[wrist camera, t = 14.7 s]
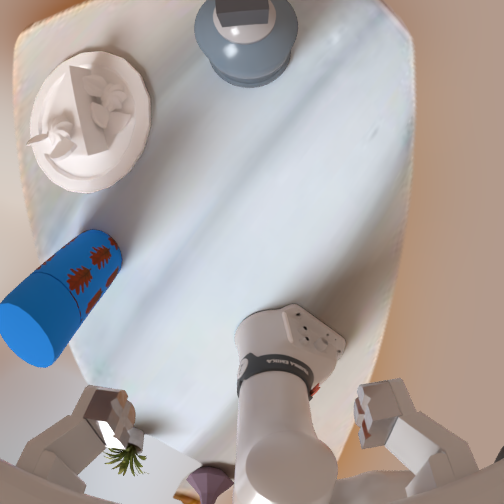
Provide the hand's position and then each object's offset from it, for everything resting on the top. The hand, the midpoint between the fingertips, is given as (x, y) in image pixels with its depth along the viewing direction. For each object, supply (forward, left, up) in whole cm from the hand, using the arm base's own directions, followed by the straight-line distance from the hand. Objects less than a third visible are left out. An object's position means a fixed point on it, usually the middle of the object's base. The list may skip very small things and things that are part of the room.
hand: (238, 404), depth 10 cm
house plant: (-4, +79, -41) cm, 89 cm away
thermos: (+19, +26, -41) cm, 52 cm away
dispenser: (+10, -17, -41) cm, 46 cm away
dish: (+30, +4, -42) cm, 52 cm away
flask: (-33, +91, -41) cm, 105 cm away
